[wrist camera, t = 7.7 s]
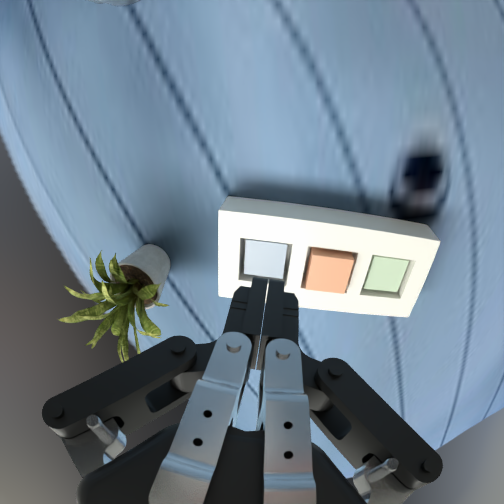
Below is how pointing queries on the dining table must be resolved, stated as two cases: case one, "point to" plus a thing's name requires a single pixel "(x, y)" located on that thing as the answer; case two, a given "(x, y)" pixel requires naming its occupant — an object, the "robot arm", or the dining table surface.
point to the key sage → (385, 273)
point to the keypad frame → (330, 237)
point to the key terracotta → (328, 270)
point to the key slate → (265, 258)
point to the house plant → (126, 295)
